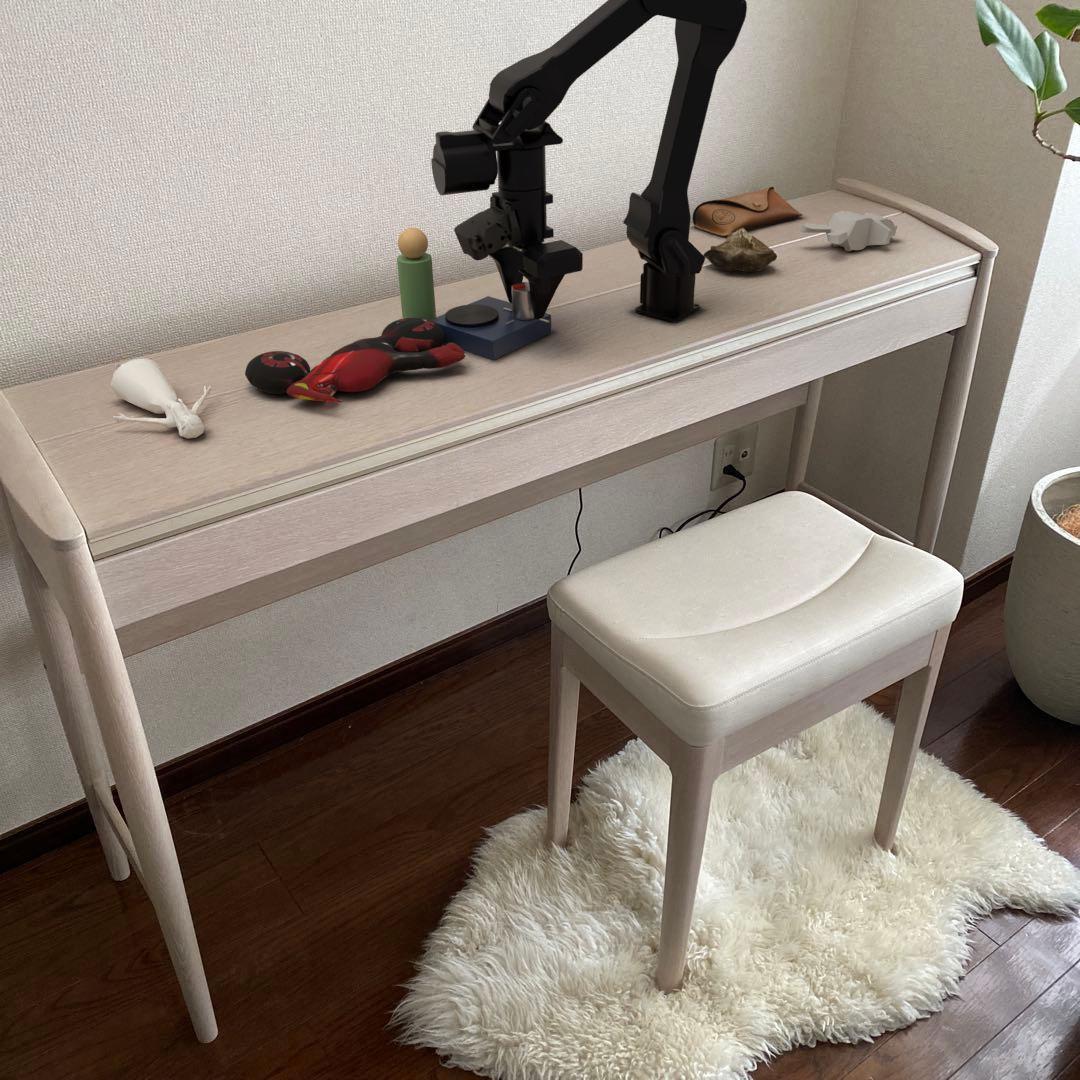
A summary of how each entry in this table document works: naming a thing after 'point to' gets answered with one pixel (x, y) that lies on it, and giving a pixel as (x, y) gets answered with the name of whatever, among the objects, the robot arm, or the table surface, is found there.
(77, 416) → the table surface
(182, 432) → the woman figurine
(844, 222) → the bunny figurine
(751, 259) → the fossilized seashell
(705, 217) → the sunglasses case
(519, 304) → the stove knob
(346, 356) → the toy motorcycle
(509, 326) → the hot plate
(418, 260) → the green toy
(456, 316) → the burner plate
